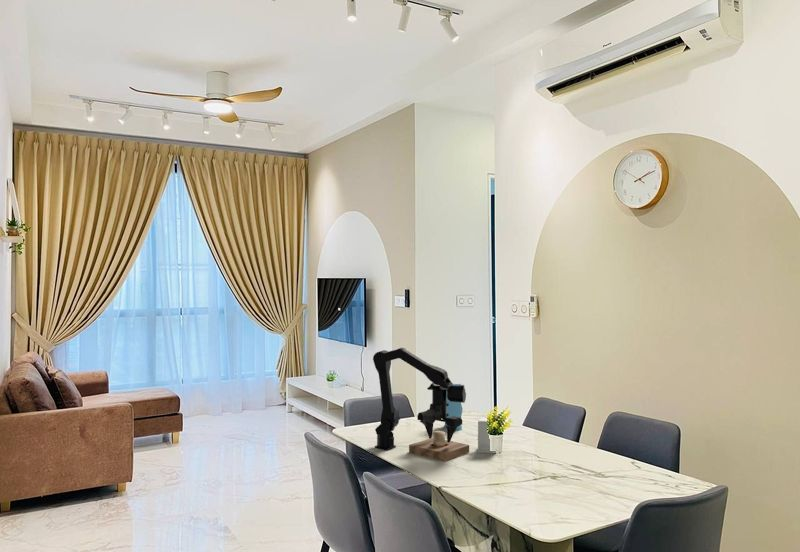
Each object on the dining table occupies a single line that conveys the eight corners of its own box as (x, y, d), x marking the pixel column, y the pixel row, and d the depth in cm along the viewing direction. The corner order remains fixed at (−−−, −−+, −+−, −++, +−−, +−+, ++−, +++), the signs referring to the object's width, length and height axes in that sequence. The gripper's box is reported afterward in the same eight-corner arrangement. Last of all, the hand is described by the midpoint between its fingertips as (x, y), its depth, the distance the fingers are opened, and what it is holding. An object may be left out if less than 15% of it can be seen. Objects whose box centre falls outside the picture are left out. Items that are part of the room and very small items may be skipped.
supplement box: (496, 453, 240) (496, 421, 241) (477, 452, 242) (477, 421, 242) (497, 448, 248) (497, 417, 248) (478, 447, 249) (478, 417, 249)
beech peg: (430, 452, 242) (430, 432, 242) (437, 450, 245) (438, 430, 245) (440, 454, 239) (440, 434, 239) (447, 452, 242) (447, 432, 242)
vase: (462, 430, 279) (462, 386, 279) (445, 430, 279) (445, 386, 279) (460, 426, 287) (461, 383, 287) (444, 426, 287) (444, 383, 287)
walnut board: (409, 452, 242) (409, 444, 242) (433, 444, 254) (433, 437, 254) (445, 461, 230) (445, 453, 230) (469, 452, 242) (469, 444, 242)
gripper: (408, 401, 242) (408, 440, 242) (446, 407, 230) (446, 448, 230) (426, 397, 251) (425, 434, 251) (463, 403, 238) (463, 442, 238)
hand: (439, 440), depth 242 cm, fingers open, 9 cm apart
